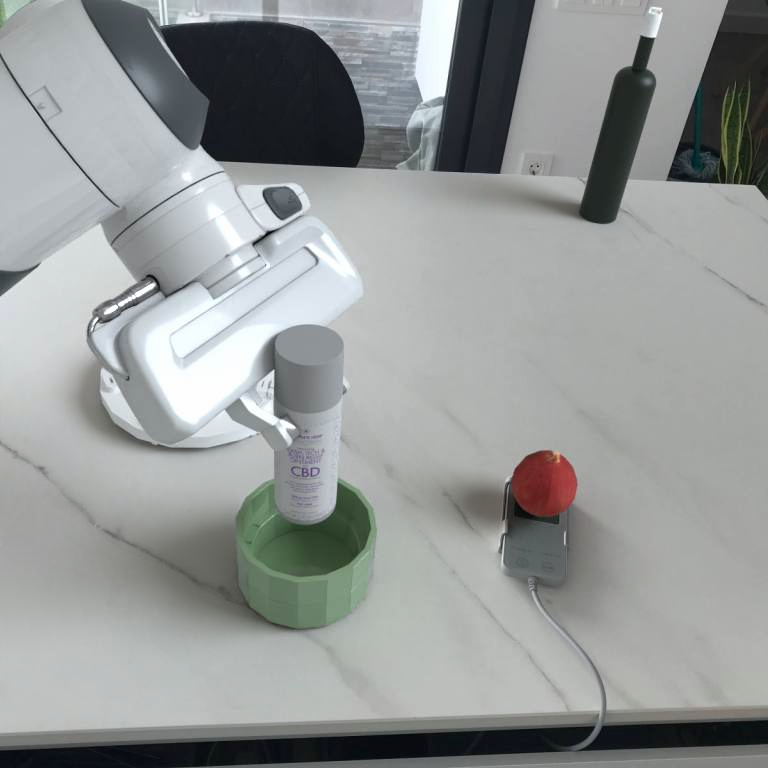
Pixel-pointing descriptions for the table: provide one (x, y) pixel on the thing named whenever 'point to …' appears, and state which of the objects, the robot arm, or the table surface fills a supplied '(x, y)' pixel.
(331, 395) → the container
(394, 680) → the table surface
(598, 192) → the wine bottle
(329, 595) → the green faceted pot
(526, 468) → the onion
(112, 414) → the giant coin
